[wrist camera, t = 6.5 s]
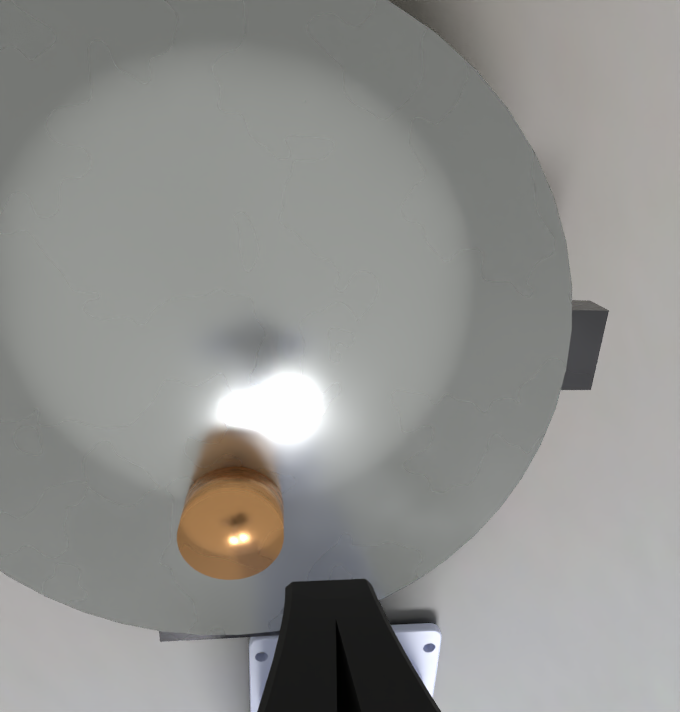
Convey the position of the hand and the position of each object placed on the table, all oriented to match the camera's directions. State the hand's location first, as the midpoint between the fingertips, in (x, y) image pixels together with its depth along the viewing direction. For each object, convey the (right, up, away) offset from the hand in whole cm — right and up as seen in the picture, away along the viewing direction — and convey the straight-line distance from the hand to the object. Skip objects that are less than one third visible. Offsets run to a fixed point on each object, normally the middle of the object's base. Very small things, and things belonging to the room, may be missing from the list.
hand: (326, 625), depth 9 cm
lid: (-2, +5, +5) cm, 7 cm away
